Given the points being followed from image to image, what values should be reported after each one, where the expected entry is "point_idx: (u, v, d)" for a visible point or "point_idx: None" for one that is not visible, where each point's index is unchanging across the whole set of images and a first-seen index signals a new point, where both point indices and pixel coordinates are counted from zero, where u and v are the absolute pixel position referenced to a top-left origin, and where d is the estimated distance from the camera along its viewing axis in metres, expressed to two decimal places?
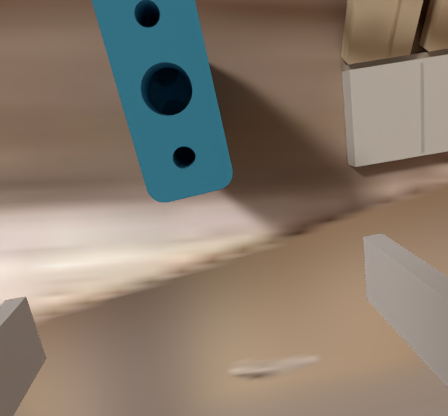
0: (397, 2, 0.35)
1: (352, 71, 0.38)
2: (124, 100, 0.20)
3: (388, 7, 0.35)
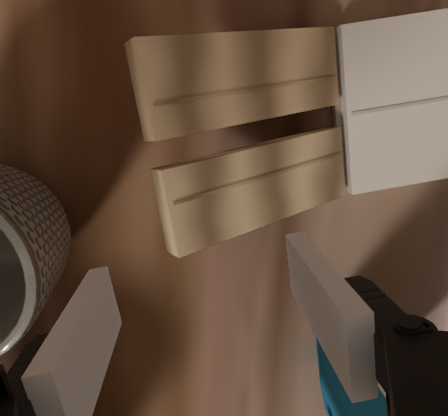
0: (301, 166, 0.33)
1: (353, 191, 0.36)
2: None
3: (305, 174, 0.33)
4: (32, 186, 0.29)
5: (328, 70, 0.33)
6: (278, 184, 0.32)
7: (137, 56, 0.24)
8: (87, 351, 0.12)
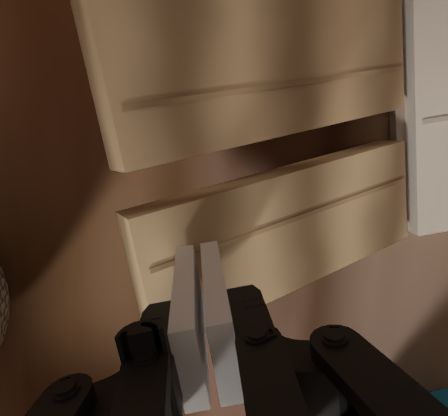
0: (349, 199, 0.22)
1: (420, 231, 0.25)
2: None
3: (354, 211, 0.22)
4: None
5: (392, 57, 0.22)
6: (315, 228, 0.21)
7: (89, 20, 0.13)
8: (199, 318, 0.13)
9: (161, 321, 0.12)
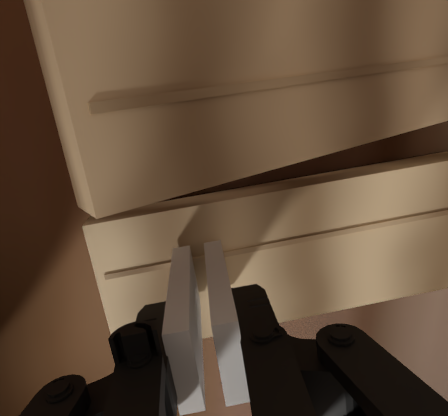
0: (371, 227, 0.18)
1: None
2: None
3: (379, 241, 0.18)
4: None
5: None
6: (316, 257, 0.18)
7: None
8: (195, 318, 0.13)
9: (156, 322, 0.12)
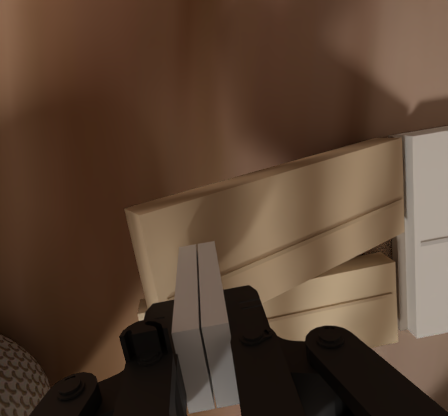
0: (326, 308, 0.27)
1: (419, 334, 0.28)
2: None
3: (332, 317, 0.27)
4: None
5: (393, 193, 0.25)
6: (290, 328, 0.27)
7: (144, 240, 0.16)
8: None
9: (165, 320, 0.12)
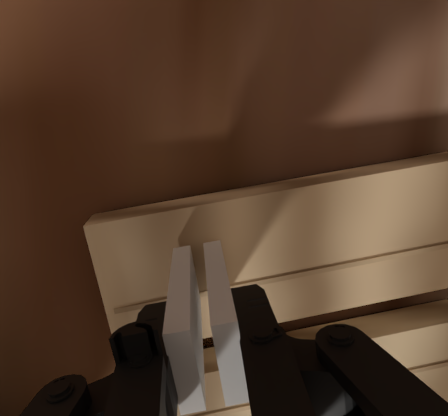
0: None
1: None
2: None
3: None
4: None
5: None
6: None
7: (89, 250, 0.16)
8: (195, 318, 0.13)
9: (157, 322, 0.12)
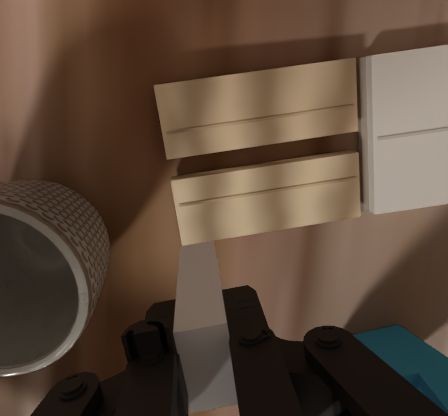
0: (306, 186, 0.36)
1: (376, 211, 0.38)
2: None
3: (311, 193, 0.37)
4: (79, 204, 0.31)
5: (345, 99, 0.34)
6: (280, 200, 0.36)
7: (156, 98, 0.33)
8: None
9: (166, 320, 0.12)
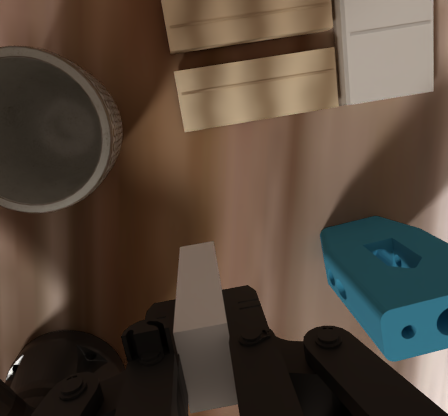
0: (291, 77, 0.42)
1: (351, 101, 0.44)
2: None
3: (295, 84, 0.42)
4: None
5: None
6: (268, 90, 0.42)
7: None
8: None
9: (166, 320, 0.12)
